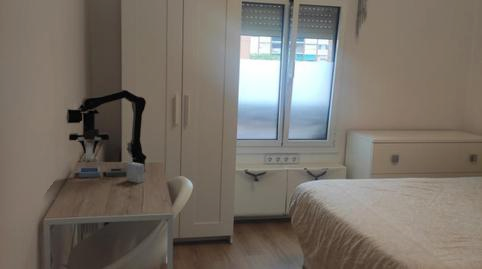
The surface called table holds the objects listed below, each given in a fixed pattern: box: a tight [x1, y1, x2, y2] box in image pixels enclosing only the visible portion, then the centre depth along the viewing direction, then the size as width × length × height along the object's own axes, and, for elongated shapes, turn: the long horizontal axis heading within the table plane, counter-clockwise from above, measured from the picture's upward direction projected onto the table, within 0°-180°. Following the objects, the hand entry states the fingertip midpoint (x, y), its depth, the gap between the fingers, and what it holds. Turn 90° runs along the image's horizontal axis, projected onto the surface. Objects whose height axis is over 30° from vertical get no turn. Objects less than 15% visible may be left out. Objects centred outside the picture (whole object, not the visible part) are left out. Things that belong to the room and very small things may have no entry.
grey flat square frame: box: [104, 167, 127, 177], centre depth 227 cm, size 10×10×2 cm
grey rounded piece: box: [84, 142, 94, 161], centre depth 221 cm, size 4×4×8 cm
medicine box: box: [126, 161, 145, 184], centre depth 214 cm, size 8×4×9 cm, turn 58°
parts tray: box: [78, 166, 101, 179], centre depth 223 cm, size 10×12×2 cm
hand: (89, 153), depth 221 cm, fingers closed on grey rounded piece, 4 cm apart
